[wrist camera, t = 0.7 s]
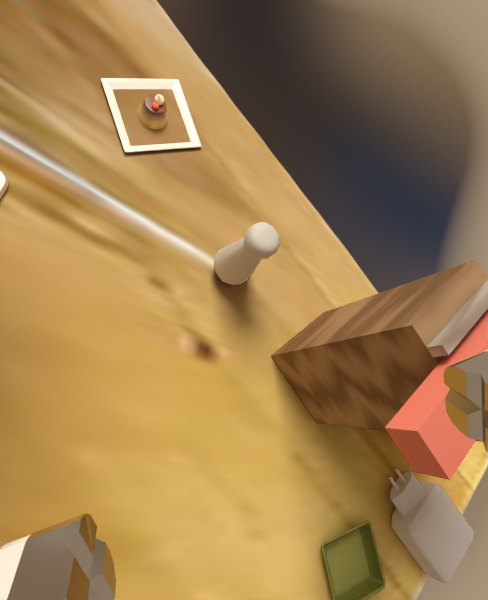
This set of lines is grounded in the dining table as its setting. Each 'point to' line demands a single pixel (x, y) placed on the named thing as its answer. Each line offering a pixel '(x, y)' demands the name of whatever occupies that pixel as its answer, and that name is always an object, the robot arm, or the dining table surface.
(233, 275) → the salt shaker
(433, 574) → the charger
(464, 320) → the wooden knife block
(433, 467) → the salmon red bar
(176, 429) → the dining table surface
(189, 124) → the dessert
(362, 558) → the green square tray
